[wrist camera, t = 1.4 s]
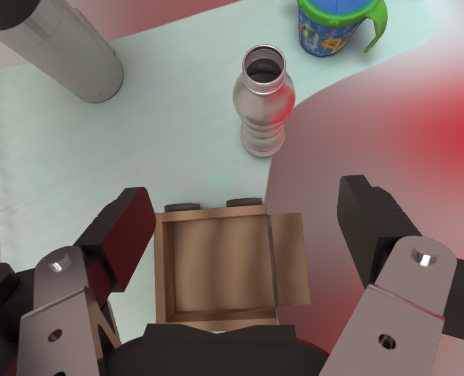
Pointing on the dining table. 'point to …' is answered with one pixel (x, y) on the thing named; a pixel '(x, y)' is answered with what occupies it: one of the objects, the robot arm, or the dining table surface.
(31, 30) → the robot arm
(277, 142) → the grey ridged cylindrical piece
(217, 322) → the tray
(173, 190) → the dining table surface
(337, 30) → the snack cup
